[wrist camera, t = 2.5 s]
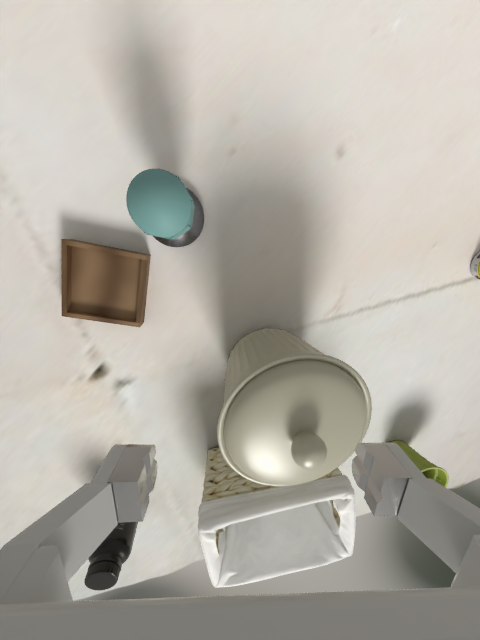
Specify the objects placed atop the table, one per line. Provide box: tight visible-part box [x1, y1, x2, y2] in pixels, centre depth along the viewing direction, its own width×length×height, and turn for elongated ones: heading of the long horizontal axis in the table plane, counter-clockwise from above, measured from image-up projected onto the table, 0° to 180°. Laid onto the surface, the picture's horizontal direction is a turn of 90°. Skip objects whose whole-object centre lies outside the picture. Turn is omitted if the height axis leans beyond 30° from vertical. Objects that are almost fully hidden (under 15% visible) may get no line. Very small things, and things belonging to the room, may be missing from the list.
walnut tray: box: [62, 239, 150, 327], centre depth 34 cm, size 10×10×2 cm
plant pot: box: [390, 440, 449, 488], centre depth 50 cm, size 9×9×9 cm
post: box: [153, 188, 204, 247], centre depth 28 cm, size 8×8×11 cm
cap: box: [127, 169, 195, 240], centre depth 25 cm, size 6×6×5 cm
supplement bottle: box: [85, 522, 138, 590], centre depth 43 cm, size 7×7×12 cm
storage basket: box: [198, 447, 355, 588], centre depth 43 cm, size 24×16×15 cm
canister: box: [217, 328, 372, 486], centre depth 33 cm, size 18×18×21 cm
